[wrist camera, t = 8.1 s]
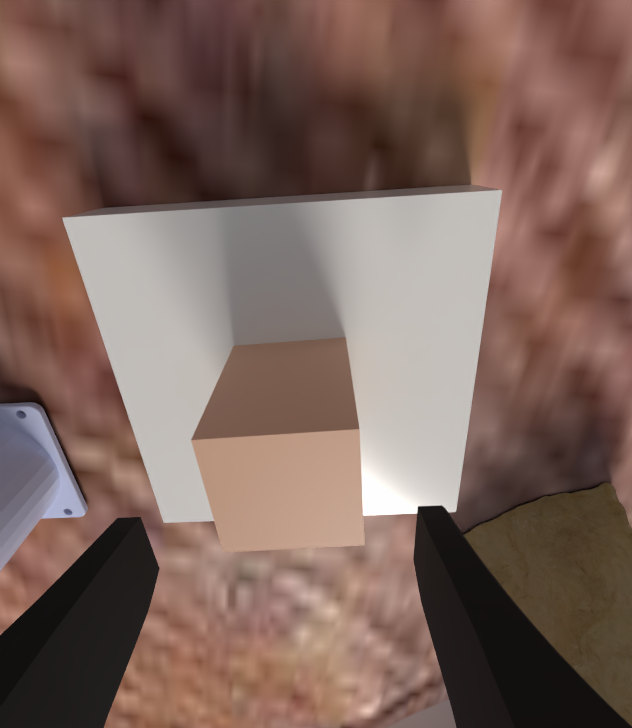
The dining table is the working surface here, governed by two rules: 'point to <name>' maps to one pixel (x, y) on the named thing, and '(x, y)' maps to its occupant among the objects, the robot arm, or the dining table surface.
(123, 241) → the base plinth
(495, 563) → the rock
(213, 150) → the dining table surface
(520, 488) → the dining table surface
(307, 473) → the terracotta block
